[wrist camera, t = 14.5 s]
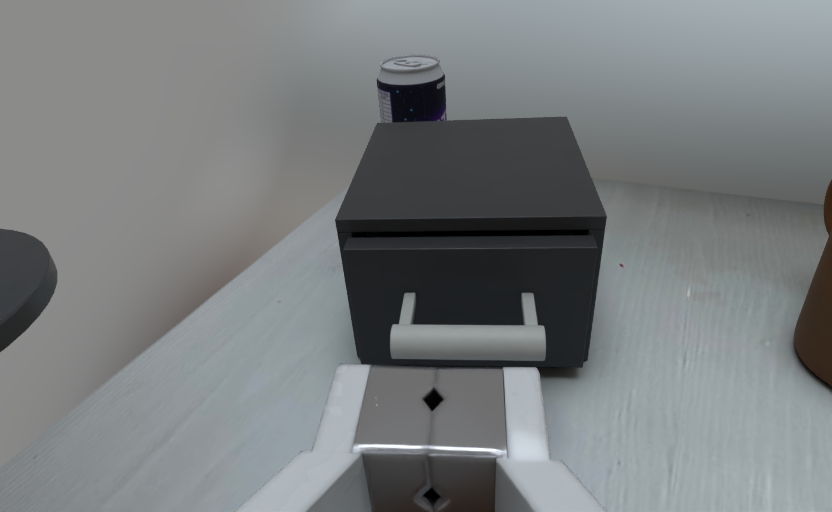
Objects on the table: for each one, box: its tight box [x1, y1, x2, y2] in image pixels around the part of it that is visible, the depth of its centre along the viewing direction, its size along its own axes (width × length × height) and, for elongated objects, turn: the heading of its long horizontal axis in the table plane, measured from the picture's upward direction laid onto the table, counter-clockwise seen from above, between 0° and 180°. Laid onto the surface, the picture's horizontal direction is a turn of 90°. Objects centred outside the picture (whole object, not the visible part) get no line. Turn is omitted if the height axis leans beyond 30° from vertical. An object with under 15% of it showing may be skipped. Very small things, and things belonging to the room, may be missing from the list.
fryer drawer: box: [343, 230, 598, 368], centre depth 33 cm, size 18×12×8 cm
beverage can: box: [377, 54, 446, 123], centre depth 49 cm, size 6×6×12 cm
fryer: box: [335, 117, 607, 361], centre depth 37 cm, size 15×14×10 cm
